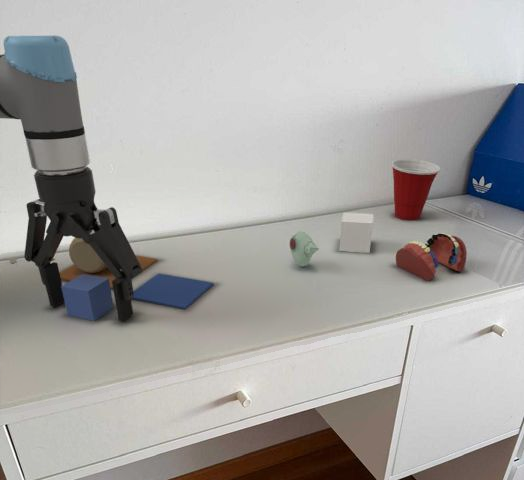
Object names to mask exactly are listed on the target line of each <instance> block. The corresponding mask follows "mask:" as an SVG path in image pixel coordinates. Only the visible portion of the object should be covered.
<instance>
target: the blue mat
mask: <svg viewBox="0 0 524 480" xmlns="http://www.w3.org/2000/svg"><path fill="white" fill-rule="evenodd" d="M214 283H215V282H211V281H206V280H200V279H194V278H193V279H192V278H189V277H181V276H176V275H170V274H164V273H157V274H156V275H154V276H153V277H152V278H150V279H149V280H147V281H146V282H144V283H143V284H141V285H140V286H139V287H137V288H136V289H135V290H134V289H133V292H134V295H133V297H132V298H131V300H133V301H139V302H145V303H150V304H155V305H161V306H166V307H171V308H176V309H182V310H186V309H188V308H189V307H190V306H191V305H192V304H193V303H194V302H196V301H197V300H198V299H199V298H200V297H202V296H203V294H205V293H206V292H207V291H208V290H209V289H211V288H212V287H213V286H214V285H215V284H214Z"/></svg>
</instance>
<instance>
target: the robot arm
mask: <svg viewBox="0 0 524 480" xmlns="http://www.w3.org/2000/svg"><path fill="white" fill-rule="evenodd" d="M2 43H3V44H2V45H3V50H4V53H3V54H0V119H5V120H6V119H10V120H20V122H21V126H22V131H23V135H24V139H25V143H26V147H27V152H28V156H29V161H30V166H31V168H32V169H34V170H35V172H34V174H33V177H34V183H35V186H36V191H37V194H38V199H35V200H32V201H29V202H27V203H26V210H27V217H28V221H27V229H26V230H27V231H26V239H25V247H24V256H23V257H24V259H25V261H26V262H28V263H29V262H33V263H34V265H35V266H36V267H37V268H38V271H39V275H40V279H41V282H42V285H44V286H45V289H46V294H47V298H48V303H49V306H50V307H51V308H57V306H59V305H61V304H63V303H65V301H64V297H63V292H62V288H61V286H62V285H63V283H62V280H61V277H60V268H59V265H58V262H53V261H55V260H56V258H54V257H55V255H56V253H57V252H58V248H60V247H59V246H61V245H60V244H61V242H62V240H63V239H64V237H73V238H82V239H83V241H84V242H85V243H87V244H90V246H91V247H92V248H93V249H94V251H95V252H96V253H97V255H98V256H99V257H100V258H101V260H102V261H103V262H104V264H105V265H106V266H107V267H108V269H109V270H110V271H111V273H112V274H113V275H114V276H115V278H116V279H114V280H113V281H112V285H113V289H112V290H113V296H114V300H115V307H116V313H117V318H118V321H119V322H124V321H126V320H127V319H129V318H130V317H131V316H133V315H134V310H133V304H132V299H131V298H132V297H133V295H134V292H133V291H134V285H133V279H134V278H136V277H137V276H138V275H140V274H141V273H143V271H142V267H141V265H140V263H139V261H138V260H137V258H136V256H135V255H136V254H135V252H134V250H133V248H132V246H131V244H130V242H129V240H128V238H127V236H126V235H125V232H124V230H123V228H122V226H121V225H120V222H119V217H118V213H117V210H116V208H115V207H113V206H111V207H108V208H106V209H100V208H98V206H97V205H96V203H95V196H96V186H95V185H96V184H95V181H94V174H93V170H92V169H91V168H90V167H88V166H89V165H90V163H91V159H90V154H89V147H88V141H87V136H86V131H85V127H84V122H83V117H82V109H81V103H80V96H79V87H78V82H77V79H78V76H77V72H76V71H75V70H76V69H75V67H74V63H73V58H72V53H71V50H70V46H69V44H68V43H69V42H67V40H66V39H65V38H63V37H62V36H61V35H8V36H5V38H4V39H3V42H2ZM48 219H49V221H50V222H49V223H48V226H47V222H48ZM97 220H98V222H97ZM46 228H47V229H46ZM92 230H94V232H95V233H93V234H90V233H91V232H92ZM120 269H121V270H122V271H121V270H120Z"/></svg>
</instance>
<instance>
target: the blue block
mask: <svg viewBox="0 0 524 480" xmlns="http://www.w3.org/2000/svg"><path fill="white" fill-rule="evenodd" d="M61 288H62V292H63V297H64V305H65V311H66V314H67V316H69V317H72V318H78V319H83V320H87V321H93V322H95V321H96V320H98V319H99V318H101V317H102V316H104V315H106V314H107V313H108V312H109V311H111V310H112V309H113V308H115V306H114V300H113V295H112V289H111V288H110V283H109V278H104V277H98V276H92V275H87V274H81V275H80V276H78V277H76V278H74V279H73V280H71V281H66V282H65V283H64V284H62V286H61Z"/></svg>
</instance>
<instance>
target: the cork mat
mask: <svg viewBox="0 0 524 480" xmlns="http://www.w3.org/2000/svg"><path fill="white" fill-rule="evenodd" d="M135 256H136V258H137V260H138V261H139V263H140V265H141V267H142V272H144V270H146V269H147V268H149V267H151V265H153V264H155V263H156V262H158V258H154V257H149V256H142V255H136V254H135ZM59 273H60V277H61V281H65V282H69V281H71V280H73V279H74V278H76V277H78V276H80V275H81V274H87V275H92V276H98V277H104V278H109V283H110V288H111V290H113V285H112V281H113V280H114V279H116V278H115V276H114V275H113V274H112V273H111V271H110V270H109V269H108V267H107V268H105V269H104V270H102V271H100V272H98V273H87V272H84V271H82V270H80V269H79V268H78V267H76V266H75V265H74V264H73V265H70V266H69V267H67V268H65V269H63V270H62V271H59Z"/></svg>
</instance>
